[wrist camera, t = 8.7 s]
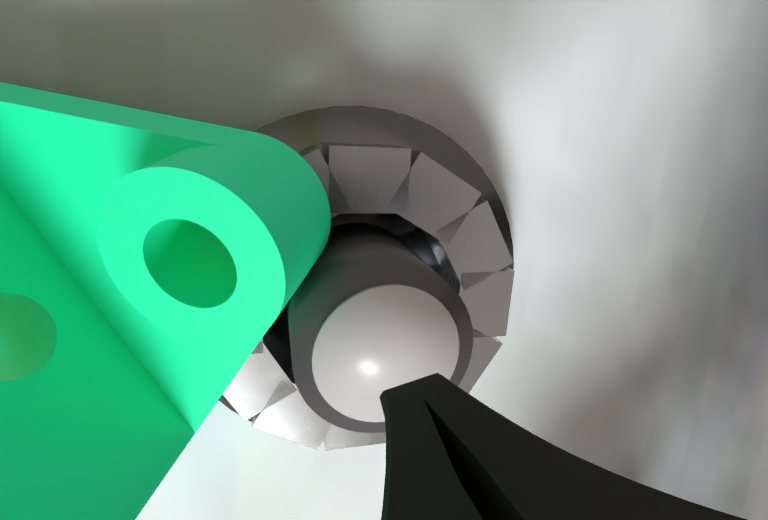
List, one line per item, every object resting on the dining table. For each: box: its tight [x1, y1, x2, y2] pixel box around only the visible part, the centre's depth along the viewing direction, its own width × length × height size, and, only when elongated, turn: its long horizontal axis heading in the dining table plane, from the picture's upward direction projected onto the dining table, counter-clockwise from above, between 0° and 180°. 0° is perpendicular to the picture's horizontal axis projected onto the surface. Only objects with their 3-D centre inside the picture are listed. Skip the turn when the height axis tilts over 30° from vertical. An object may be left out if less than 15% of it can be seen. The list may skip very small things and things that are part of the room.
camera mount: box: [0, 82, 331, 520], centre depth 10 cm, size 12×8×10 cm
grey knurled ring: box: [219, 106, 514, 450], centre depth 16 cm, size 13×13×3 cm
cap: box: [287, 222, 473, 433], centre depth 14 cm, size 5×5×5 cm
